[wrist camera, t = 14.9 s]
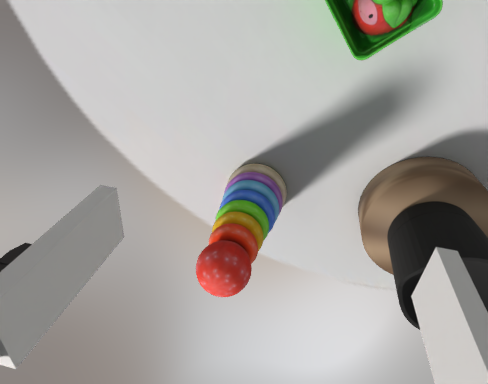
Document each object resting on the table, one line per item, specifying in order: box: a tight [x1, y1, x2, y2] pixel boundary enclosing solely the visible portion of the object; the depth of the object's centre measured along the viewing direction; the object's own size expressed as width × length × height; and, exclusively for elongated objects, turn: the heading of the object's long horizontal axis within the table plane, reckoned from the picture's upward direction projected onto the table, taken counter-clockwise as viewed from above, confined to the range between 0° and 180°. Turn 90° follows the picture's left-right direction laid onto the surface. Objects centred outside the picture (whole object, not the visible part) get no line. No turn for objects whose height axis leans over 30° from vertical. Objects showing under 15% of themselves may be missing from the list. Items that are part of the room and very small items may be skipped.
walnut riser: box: [358, 157, 488, 275], centre depth 39 cm, size 14×14×5 cm
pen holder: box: [387, 201, 488, 330], centre depth 33 cm, size 9×9×10 cm
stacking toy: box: [196, 164, 287, 297], centre depth 37 cm, size 8×8×19 cm
